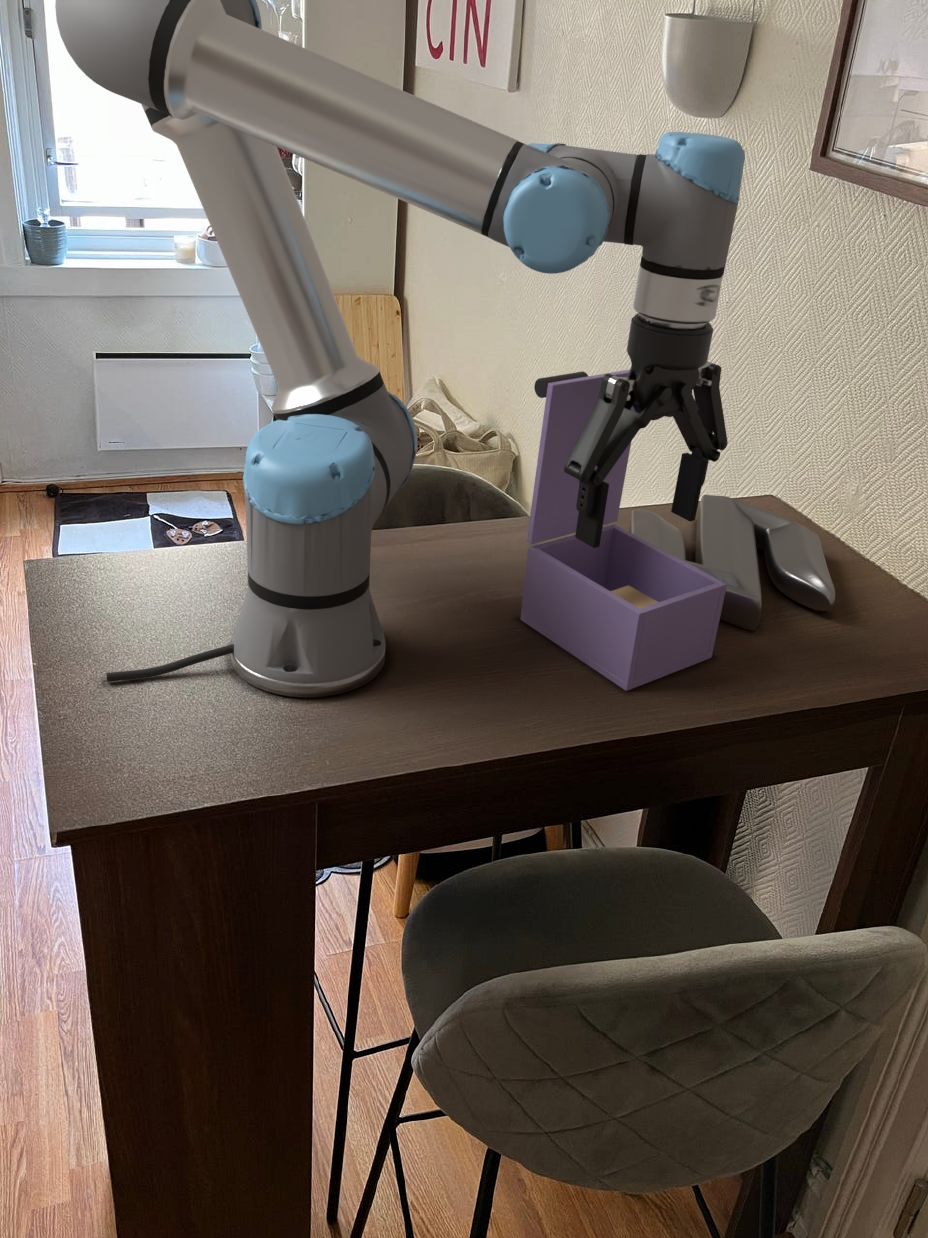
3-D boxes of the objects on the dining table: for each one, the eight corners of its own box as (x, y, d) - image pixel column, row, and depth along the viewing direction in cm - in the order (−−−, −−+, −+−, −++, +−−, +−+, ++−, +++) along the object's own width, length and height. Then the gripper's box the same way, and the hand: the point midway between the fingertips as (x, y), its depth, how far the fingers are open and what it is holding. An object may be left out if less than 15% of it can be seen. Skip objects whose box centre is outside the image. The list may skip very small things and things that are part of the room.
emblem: (573, 496, 139) (758, 479, 149) (568, 535, 141) (750, 516, 151) (693, 600, 116) (901, 572, 126) (685, 644, 119) (889, 613, 129)
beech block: (593, 632, 118) (598, 595, 116) (622, 621, 121) (628, 584, 119) (623, 650, 115) (629, 613, 113) (652, 639, 118) (659, 602, 116)
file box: (711, 657, 117) (727, 584, 113) (626, 691, 110) (639, 613, 106) (603, 593, 128) (614, 523, 124) (520, 619, 121) (528, 547, 117)
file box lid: (644, 369, 114) (603, 351, 119) (553, 385, 107) (512, 365, 112) (617, 521, 123) (579, 499, 127) (530, 544, 116) (494, 520, 120)
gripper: (602, 342, 92) (569, 569, 102) (792, 316, 106) (746, 519, 116) (543, 319, 97) (518, 538, 107) (732, 297, 111) (693, 493, 121)
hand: (636, 528), depth 112 cm, fingers open, 13 cm apart
